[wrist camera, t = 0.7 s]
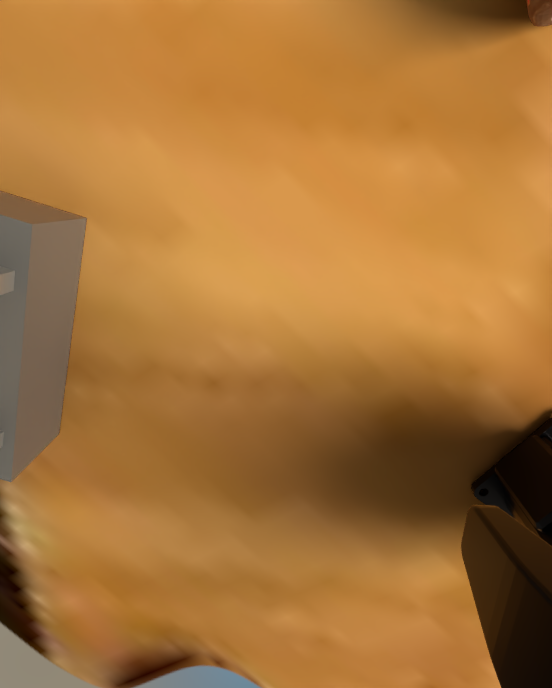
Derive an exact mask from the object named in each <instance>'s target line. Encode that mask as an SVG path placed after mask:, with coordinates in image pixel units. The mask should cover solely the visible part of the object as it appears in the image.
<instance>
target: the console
mask: <svg viewBox="0 0 552 688" xmlns="http://www.w3.org/2000/svg"><path fill="white" fill-rule="evenodd" d="M86 220H87V218H85V217H82V216H79V215H75V214H72V213H69V212H66V211H63V210H59V209H56V208H53V207H50V206H47V205H44V204H40V203H37V202H34V201H31V200H28V199H24V198H21V197H18V196H15V195H12V194H9V193H5V192H2V191H0V479H2V480H5V481H9V482H12V481H13V480H14V479H15V478H16V477H17V476H18V475H19V474H20V473H21V472H22V471H23V470H24V469H25V468H26V467H27V466H28V465H29V464H30V463H31V462H32V461H33V460H34V459H35V458H36V457H37V456H38V455H39V454H40V453H41V452H42V451H43V450H44V449H45V448H46V447H47V445H48V444H49V443H50V442H51V441H52V440H53V439H54V438H55V437H56V436H57V435H58V434H59V430H60V422H61V415H62V407H63V399H64V391H65V384H66V376H67V368H68V360H69V352H70V345H71V337H72V329H73V321H74V314H75V306H76V298H77V290H78V283H79V275H80V267H81V259H82V251H83V244H84V236H85V228H86Z"/></svg>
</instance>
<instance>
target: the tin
mask: <svg viewBox="0 0 552 688" xmlns="http://www.w3.org/2000/svg"><path fill="white" fill-rule="evenodd" d="M526 2H527V9H528V16H529V18H530V21H531V22H532V23H533V24H534V25H535V26H547V25H552V0H526Z"/></svg>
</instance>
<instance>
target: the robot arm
mask: <svg viewBox="0 0 552 688" xmlns="http://www.w3.org/2000/svg"><path fill="white" fill-rule="evenodd" d="M481 489H484V490H483V491H480V490H481ZM471 490H472V492H473V494H474V496H475V497H476V498H477V499H478V500H480V501H481V502H483V503H484V504H485V505H472V506H471V507H470V508H469V510H468V513H467V518H466V523H465V527H464V532H463V537H462V543H461V550H462V557H463V561H464V564H465V568H466V572H467V575H468V579H469V582H470V586H471V590H472V593H473V597H474V600H475V604H476V608H477V611H478V615H479V619H480V622H481V626H482V629H483V633H484V637H485V640H486V644H487V647H488V650H489V654H490V657H491V660H492V663H493V666H494V669H495V671H496V674H497V677H498V680H499V682H500V685H501V688H552V418H550V419H549V420H548V421H547V422H546V423H544V424H543V425H542V426H541V427H540V428H538V429H537V430H536V431H535V432H534V433H533V434H531V435H530V436H529V437H528V438H527V439H525V440H524V441H523V442H522V443H521V444H519V445H518V446H517V447H516V448H515V449H513V450H512V451H511V452H510V453H509V454H508V455H506V456H505V457H504V458H503V459H502V460H500V461H499V462H498V463H497V464H496V465H494V466H493V467H492V468H491V469H490V470H488V471H487V472H486V473H485V474H484V475H483V476H481V477H480V478H479V479H478V480H477V481H475V482H474V483H473V484H472V487H471Z"/></svg>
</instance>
